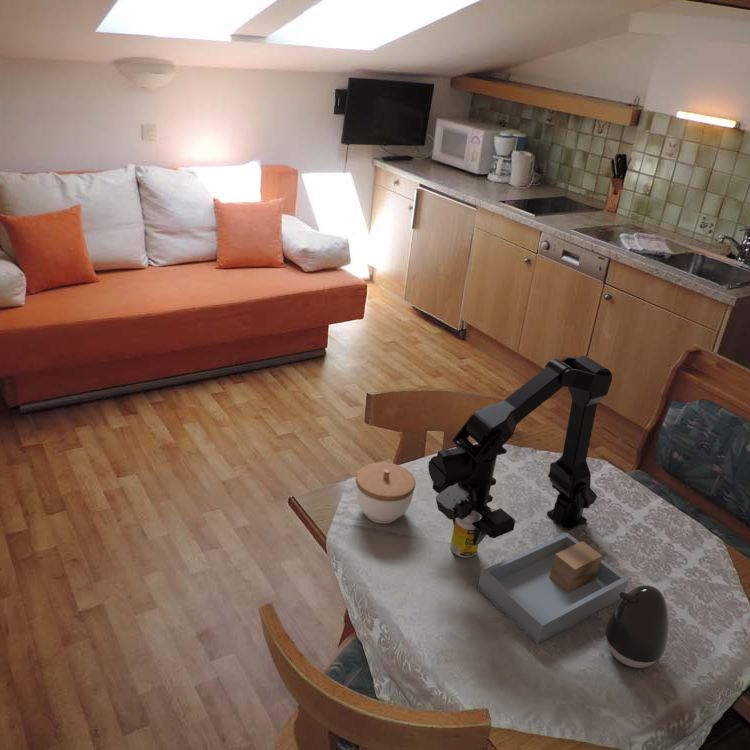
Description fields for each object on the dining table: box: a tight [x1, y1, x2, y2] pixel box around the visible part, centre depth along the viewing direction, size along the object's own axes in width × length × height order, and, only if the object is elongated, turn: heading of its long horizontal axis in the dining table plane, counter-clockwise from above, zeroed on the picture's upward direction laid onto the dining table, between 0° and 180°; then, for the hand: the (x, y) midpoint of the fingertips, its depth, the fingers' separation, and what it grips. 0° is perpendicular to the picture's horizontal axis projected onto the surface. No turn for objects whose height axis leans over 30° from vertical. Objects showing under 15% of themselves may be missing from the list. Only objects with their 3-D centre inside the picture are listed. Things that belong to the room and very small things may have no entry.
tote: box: [477, 532, 630, 645], centre depth 146 cm, size 24×16×4 cm, turn 125°
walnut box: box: [549, 540, 603, 593], centre depth 148 cm, size 8×5×6 cm, turn 125°
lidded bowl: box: [355, 461, 416, 524], centre depth 162 cm, size 13×13×11 cm
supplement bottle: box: [450, 511, 481, 559], centre depth 153 cm, size 6×6×10 cm
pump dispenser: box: [604, 584, 670, 669], centre depth 131 cm, size 10×10×15 cm
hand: (466, 536), depth 154 cm, fingers closed on supplement bottle, 6 cm apart
